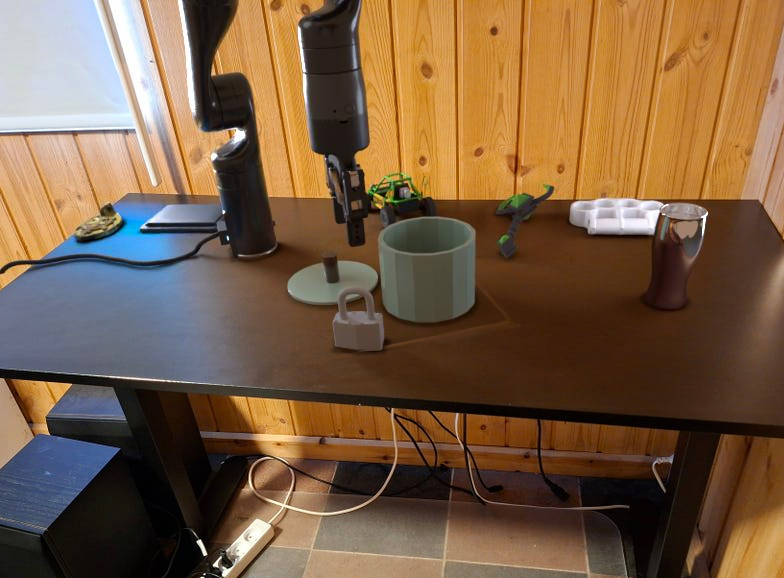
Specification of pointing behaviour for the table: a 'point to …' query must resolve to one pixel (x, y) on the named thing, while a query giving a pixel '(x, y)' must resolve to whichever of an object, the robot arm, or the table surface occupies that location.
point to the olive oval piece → (100, 224)
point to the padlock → (358, 324)
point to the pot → (427, 268)
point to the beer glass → (674, 253)
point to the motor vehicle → (399, 199)
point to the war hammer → (518, 216)
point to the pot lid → (331, 280)
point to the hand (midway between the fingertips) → (349, 233)
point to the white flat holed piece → (616, 216)
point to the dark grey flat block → (185, 218)
